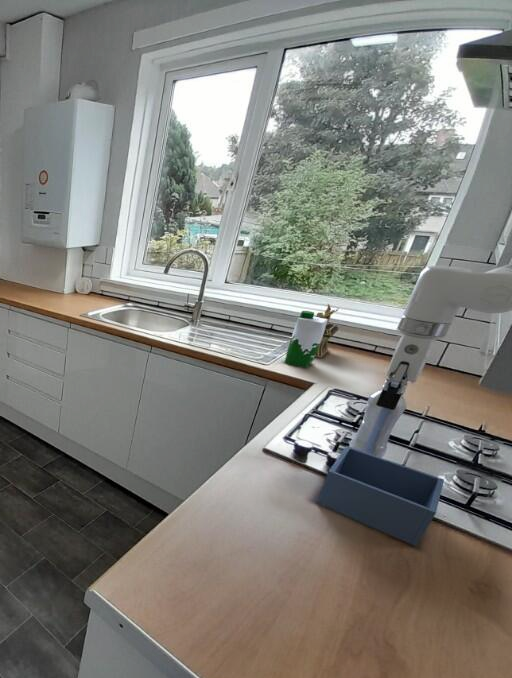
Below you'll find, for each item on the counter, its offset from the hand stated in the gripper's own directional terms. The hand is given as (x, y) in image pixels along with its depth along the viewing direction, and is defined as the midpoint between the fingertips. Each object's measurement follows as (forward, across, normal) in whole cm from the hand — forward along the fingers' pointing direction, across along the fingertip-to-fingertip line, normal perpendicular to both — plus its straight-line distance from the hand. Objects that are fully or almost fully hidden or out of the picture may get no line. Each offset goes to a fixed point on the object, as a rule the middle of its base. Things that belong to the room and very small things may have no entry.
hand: (388, 402), depth 93 cm
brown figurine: (+16, +86, +31) cm, 93 cm away
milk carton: (+16, +64, +31) cm, 73 cm away
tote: (+16, -20, -5) cm, 26 cm away
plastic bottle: (+15, 0, 0) cm, 15 cm away
